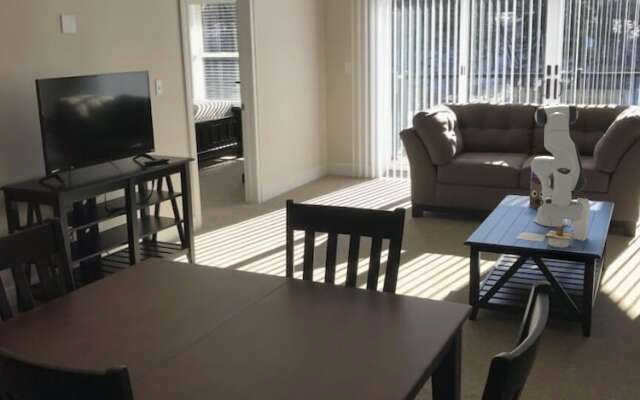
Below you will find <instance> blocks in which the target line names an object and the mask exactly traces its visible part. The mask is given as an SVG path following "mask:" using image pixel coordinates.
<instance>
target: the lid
mask: <svg viewBox="0 0 640 400" xmlns="http://www.w3.org/2000/svg"><path fill="white" fill-rule="evenodd" d="M544 235H545V239H549V238H552V239H560V240H568V241H569V240H570V241H571V239H573V235H574V233H573V232H569V231H564V226H556V230H549V231H548V232H547V233H546V234H544Z"/></svg>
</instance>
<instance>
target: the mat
mask: <svg viewBox="0 0 640 400" xmlns="http://www.w3.org/2000/svg"><path fill="white" fill-rule="evenodd" d="M545 235H546V234H541V233H540V234H539V233H533V232H525V231H524V232H523V231H522V232H521V233H519V234H518V235H517V236H516V237H515V239H518V240H526V241H532V242H540V243H542V242H543V241H544V240H545V239H546V238H545Z"/></svg>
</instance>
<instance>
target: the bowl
mask: <svg viewBox="0 0 640 400" xmlns="http://www.w3.org/2000/svg"><path fill="white" fill-rule="evenodd" d="M570 241H571V239H570V240H569V241H568V240H560V239H552V238H548V245H550V246H551V247H555V248H567V247H569V246H570Z"/></svg>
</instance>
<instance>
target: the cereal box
mask: <svg viewBox="0 0 640 400" xmlns="http://www.w3.org/2000/svg"><path fill="white" fill-rule="evenodd" d="M541 199H542V184H541V181H540V179H539V178H538V176H537V175H536V174H535V173H534V172H533V171H532V169H531V171H530V187H529V204H528V205H529V207H530V208H537V209H538V208H539V207H541Z"/></svg>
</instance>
